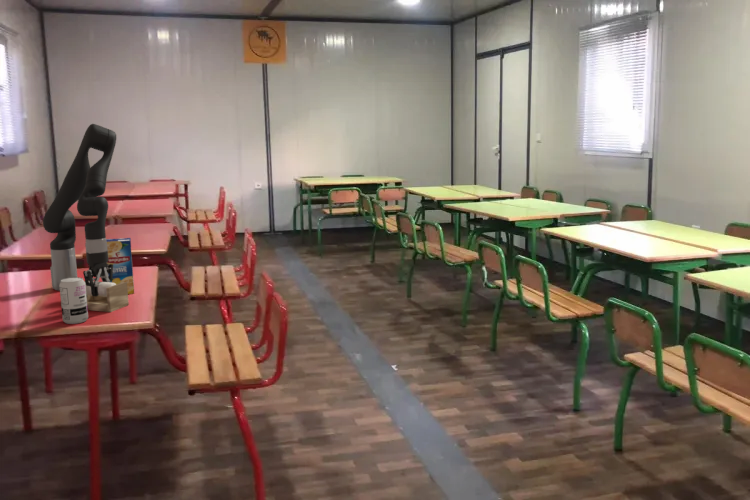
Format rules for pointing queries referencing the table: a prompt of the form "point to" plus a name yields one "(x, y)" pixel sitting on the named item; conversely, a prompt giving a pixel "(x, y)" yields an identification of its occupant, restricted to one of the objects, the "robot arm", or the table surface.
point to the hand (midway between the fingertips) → (100, 293)
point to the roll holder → (109, 299)
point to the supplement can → (73, 300)
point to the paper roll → (100, 288)
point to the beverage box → (121, 261)
